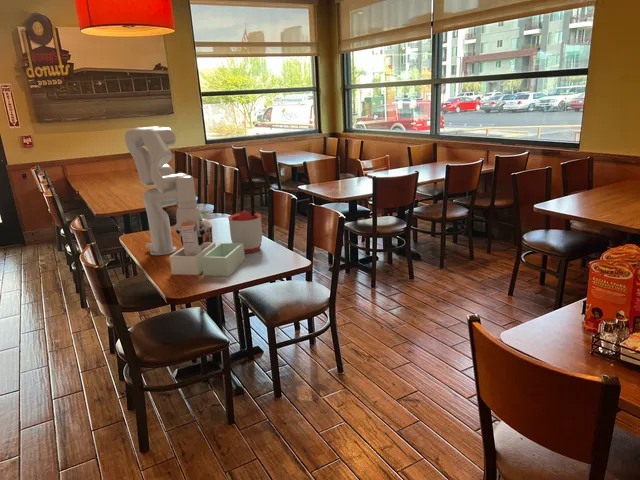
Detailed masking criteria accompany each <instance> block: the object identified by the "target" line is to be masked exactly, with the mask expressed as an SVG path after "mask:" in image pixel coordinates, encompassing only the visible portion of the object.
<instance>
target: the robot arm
mask: <svg viewBox="0 0 640 480" xmlns="http://www.w3.org/2000/svg"><path fill="white" fill-rule="evenodd" d="M124 141H125V145H126V148H127V150H128V151H129V153H130V155H131V156H132V158H133V161H134V163H135V167H136V170H137V173H138V177H139V181H140V182H141V184H142V186H144V187H152V188H148V189H146V190H145V191H143V193H142V195H141V196H142V202H143V205H144V207H145V210H146V214H147V215H146V216H147V220H148V221H147V222H148V227H149V234H150V239H151V243H150V242H146V243H145V249H150V251H149V254H150V255H151V256H167V255H170V254H171V255H172V254H174V253H176V252H177V251H178V249H177V247H176V245H175V246H174V244H173V237H172V231H171V224H170V217H169V214H168V212H167V211H165V210H164V209H163V208H166V207H169V206H177V207H178V208H176V217H175V218H176V224H175V225H173V227H172V229H173V230H174V231H175V233H176V234H178V235H179V237H180V243H181V245H182V246H183V240H182V233H181V225H182V223H195V226H196V232H197V234H198V236H199V237H198V244H199V246H200V245H202V244H203V235H204V233H205V232H206V231H207V229H208V226H207V225H205V224H204V223H203V222H202V218H201V211H200V208H199V207H198V206H197V196H196V189H195V182H194V176H192V175H190V174H189V175H188V174H186V173H185V172H184V173H182V172H180V173H175V172H174V169H173V167H172V166H170V165H169V164H168V163H169V162H171V160H172V158H173V153H172V151H171V150H170V147H171V146H174V145H175V144H176V141H177V137H176V134H175V132H174V131H173V129H172V128H170V127H168V126H167V127H166V126H159V125H156V126H144V127H143V126H140V127H133V128H130V129H127V130H126V131H125V134H124ZM202 228H204V229H203V231H202V230H201V229H202Z"/></svg>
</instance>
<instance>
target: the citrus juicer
mask: <svg viewBox="0 0 640 480" xmlns="http://www.w3.org/2000/svg"><path fill="white" fill-rule="evenodd" d="M227 219H228V221H229V222H228V224H229V233H230V240H231V243H243V245H244V254H253V253H255V252H258V251H260V249H261V246H262V241H263V229H262V228H263V227H262V225H263V224H262V214H261V213H259V212H256V213H254V214H253V216H252V215H251V214H250V213H249V212H248V211H247V210H245V209H244V210H242V211H241V212H240V213H234V214H231V215H230V216H228V217H227Z"/></svg>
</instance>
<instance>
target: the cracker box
mask: <svg viewBox="0 0 640 480" xmlns="http://www.w3.org/2000/svg"><path fill="white" fill-rule="evenodd" d="M181 233H182V240H183V245H182V246H183V247H184V253H185V256H196V255H197V254H199V253H200V252H201V251H203V250H202V245H200V246H199V244H198V237H199V236H198V234H197V232H196V226H195V223H182V225H181ZM183 247H182V248H183Z"/></svg>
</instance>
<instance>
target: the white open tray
mask: <svg viewBox="0 0 640 480" xmlns="http://www.w3.org/2000/svg"><path fill="white" fill-rule="evenodd" d="M216 246H217V245H216V242H213V243H203V244H202V250H203V251H201V252H200V253H199V254H197V255H196V256H185V253H184V247H182V248H180V249H179V250H176V251H175V252H173V253H171V255H169V256H168V257H169V263H170V269H171V275H183V276H184V275H185V276H187V275H188V276H199V275H200V274H201V273H202V272H203V265H202V256H204V255H205V254H206V253H208V252H209V251H210V250H212V249H213V248H214V247H216Z"/></svg>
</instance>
